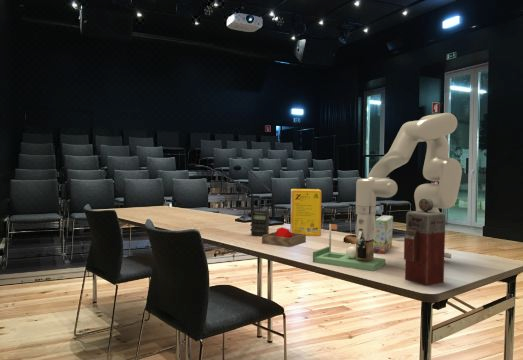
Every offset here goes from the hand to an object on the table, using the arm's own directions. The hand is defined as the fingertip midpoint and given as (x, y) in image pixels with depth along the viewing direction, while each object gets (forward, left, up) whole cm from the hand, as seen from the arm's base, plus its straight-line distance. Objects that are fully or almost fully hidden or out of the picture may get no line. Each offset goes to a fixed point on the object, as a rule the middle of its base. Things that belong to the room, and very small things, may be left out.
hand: (364, 255), depth 166 cm
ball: (+5, 0, +1) cm, 5 cm away
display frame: (+50, -23, -4) cm, 55 cm away
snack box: (+4, -36, -4) cm, 36 cm away
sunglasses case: (+20, -49, -4) cm, 53 cm away
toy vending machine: (-24, +11, -4) cm, 27 cm away
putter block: (0, 0, -1) cm, 1 cm away
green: (+6, 0, -4) cm, 7 cm away
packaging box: (+55, -55, -4) cm, 78 cm away
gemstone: (+50, -21, -4) cm, 54 cm away
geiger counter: (+71, -32, -4) cm, 78 cm away
